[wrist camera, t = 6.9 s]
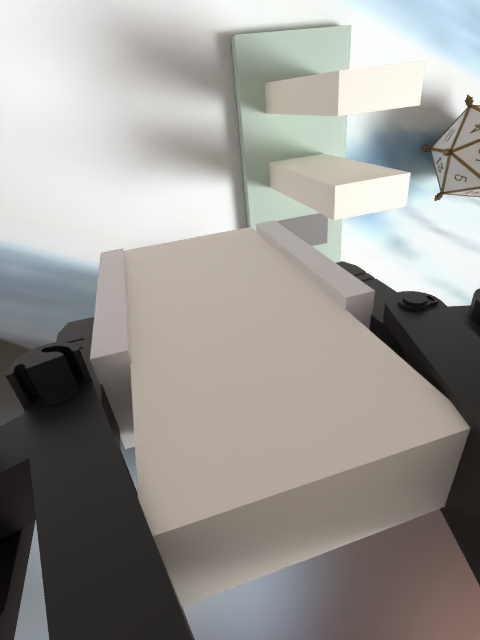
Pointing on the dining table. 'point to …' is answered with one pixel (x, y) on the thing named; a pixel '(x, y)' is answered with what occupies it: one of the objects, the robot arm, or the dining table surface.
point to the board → (287, 124)
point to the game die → (459, 155)
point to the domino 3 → (269, 415)
